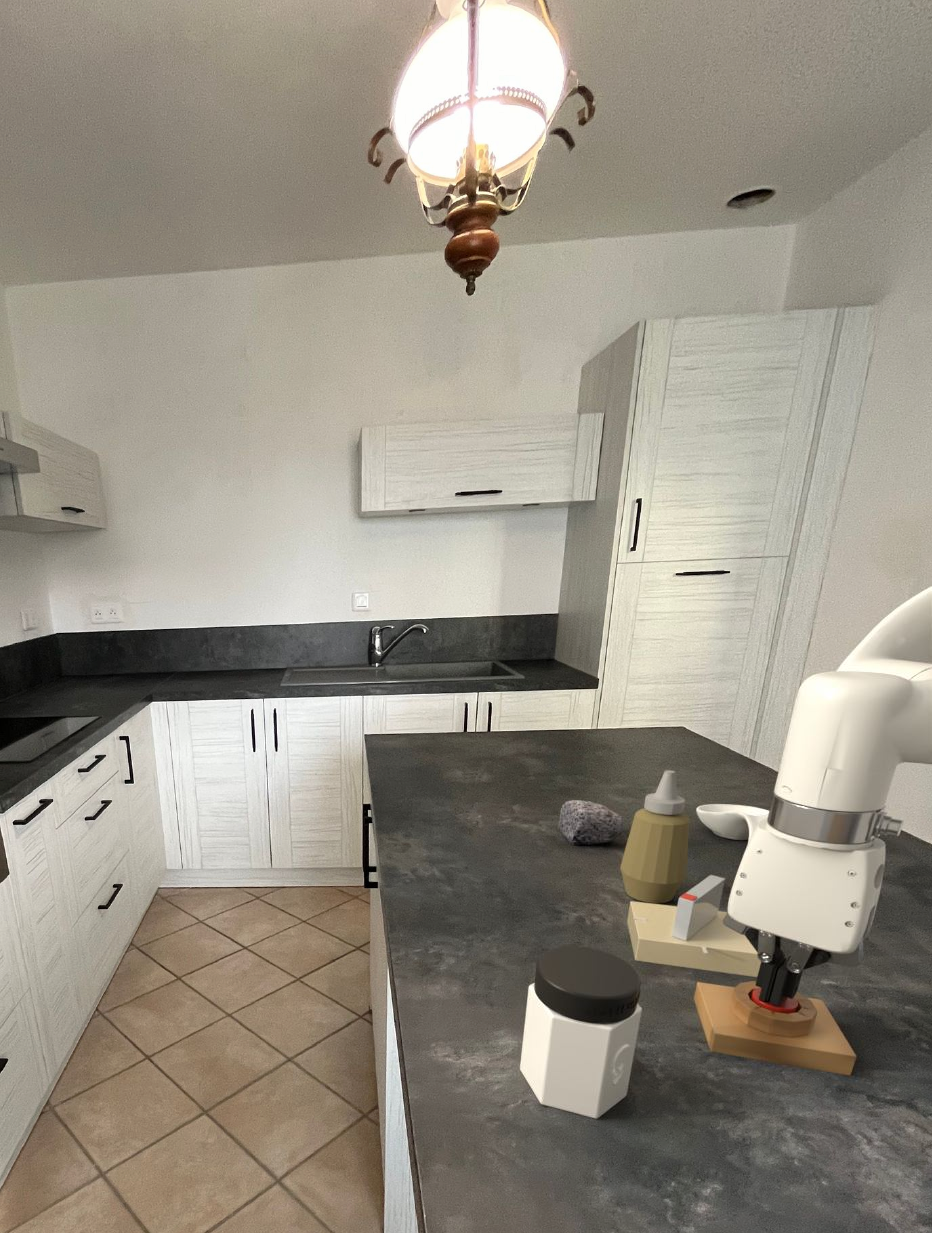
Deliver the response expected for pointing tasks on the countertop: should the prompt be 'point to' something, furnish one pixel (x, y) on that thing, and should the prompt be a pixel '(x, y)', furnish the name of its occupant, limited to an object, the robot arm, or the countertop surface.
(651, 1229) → the countertop surface
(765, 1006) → the button
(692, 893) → the red-tipped gray slab
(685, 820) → the squeeze bottle
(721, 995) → the button block
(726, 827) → the spoon rest
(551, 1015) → the jar
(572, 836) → the pumice stone
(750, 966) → the base
